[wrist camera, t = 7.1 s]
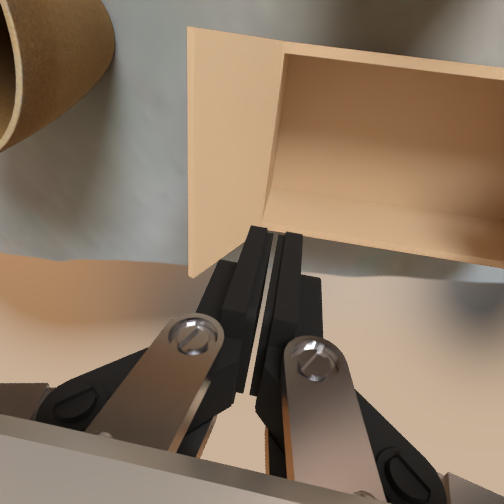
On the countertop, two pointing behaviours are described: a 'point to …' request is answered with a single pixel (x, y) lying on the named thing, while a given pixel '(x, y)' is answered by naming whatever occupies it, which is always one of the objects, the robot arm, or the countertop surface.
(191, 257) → the flap
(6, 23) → the plant pot
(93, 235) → the countertop surface
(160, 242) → the countertop surface
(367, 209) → the carton
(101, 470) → the robot arm
